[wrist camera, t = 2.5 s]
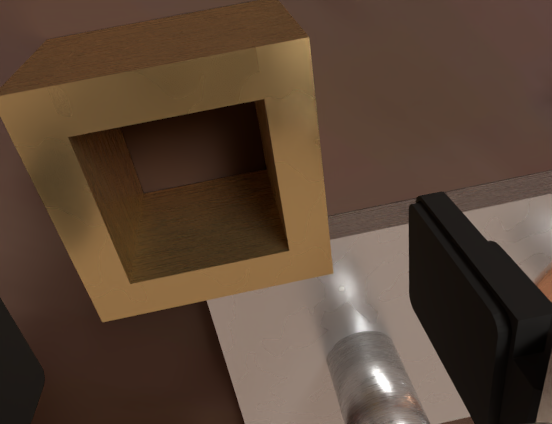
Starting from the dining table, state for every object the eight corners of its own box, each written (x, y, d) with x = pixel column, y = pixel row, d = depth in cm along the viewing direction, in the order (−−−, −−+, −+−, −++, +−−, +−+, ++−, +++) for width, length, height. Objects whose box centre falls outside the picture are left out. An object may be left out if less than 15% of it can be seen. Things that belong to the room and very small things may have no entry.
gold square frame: (47, 39, 15) (-10, 97, 10) (276, -3, 15) (309, 37, 11) (121, 226, 19) (102, 322, 14) (301, 189, 19) (333, 273, 15)
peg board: (195, 243, 19) (199, 408, 13) (758, 127, 20) (1006, 229, 14) (254, 438, 27) (274, 599, 21) (659, 347, 28) (791, 475, 22)
